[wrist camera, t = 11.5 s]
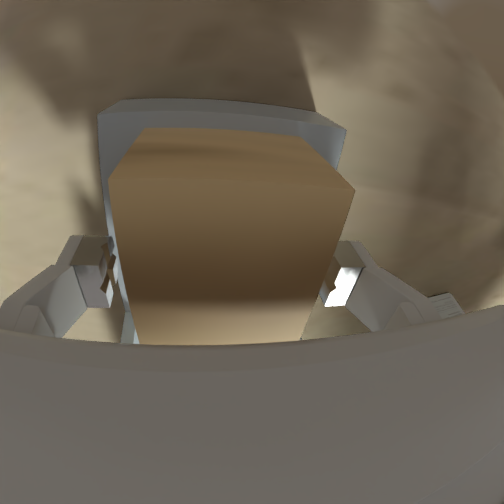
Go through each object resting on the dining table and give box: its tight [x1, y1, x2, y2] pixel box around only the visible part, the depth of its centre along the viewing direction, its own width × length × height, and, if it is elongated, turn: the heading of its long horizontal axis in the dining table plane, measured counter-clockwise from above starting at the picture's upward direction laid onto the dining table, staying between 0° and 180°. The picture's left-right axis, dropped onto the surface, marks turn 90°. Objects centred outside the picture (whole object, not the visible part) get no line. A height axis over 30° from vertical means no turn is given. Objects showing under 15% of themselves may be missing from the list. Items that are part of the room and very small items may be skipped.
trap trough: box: [97, 98, 347, 344], centre depth 16 cm, size 25×8×6 cm, turn 172°
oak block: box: [108, 128, 355, 345], centre depth 9 cm, size 6×5×4 cm
